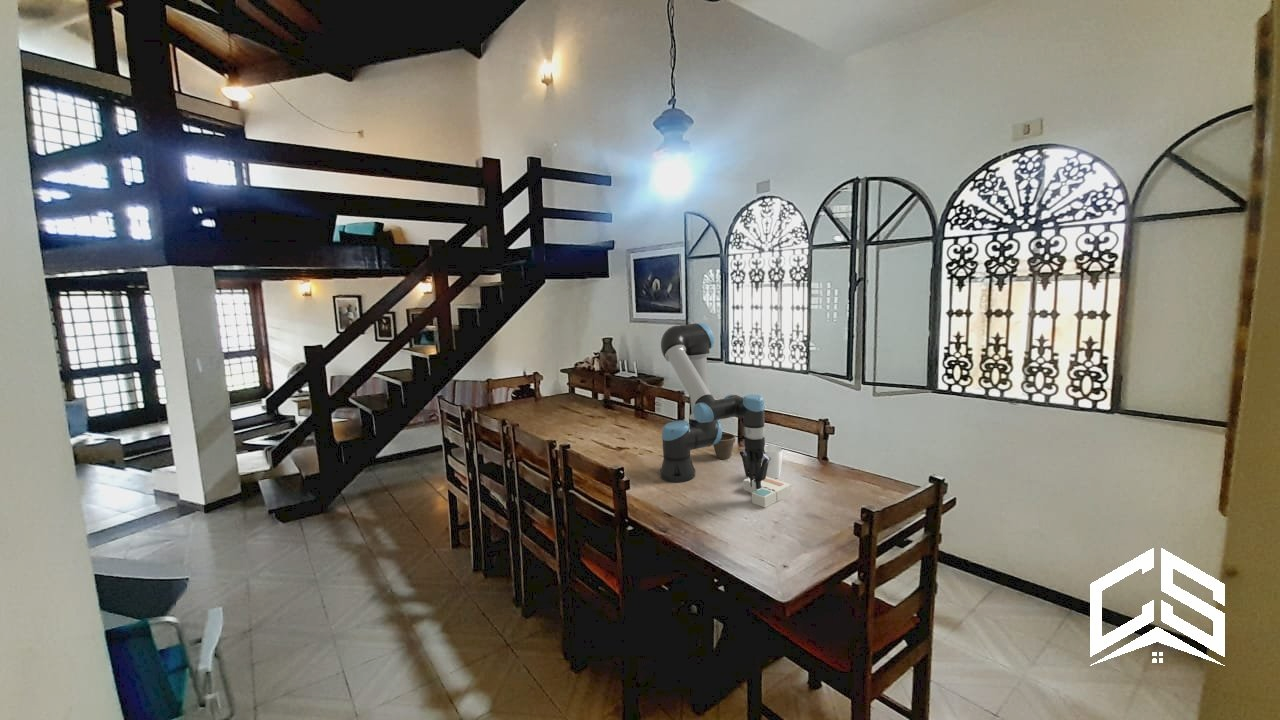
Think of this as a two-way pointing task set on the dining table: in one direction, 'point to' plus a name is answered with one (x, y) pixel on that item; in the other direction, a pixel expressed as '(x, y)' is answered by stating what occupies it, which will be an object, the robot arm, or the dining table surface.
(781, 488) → the block
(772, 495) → the white teal-topped box
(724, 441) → the flower pot
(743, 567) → the dining table surface
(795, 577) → the dining table surface
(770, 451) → the cup
